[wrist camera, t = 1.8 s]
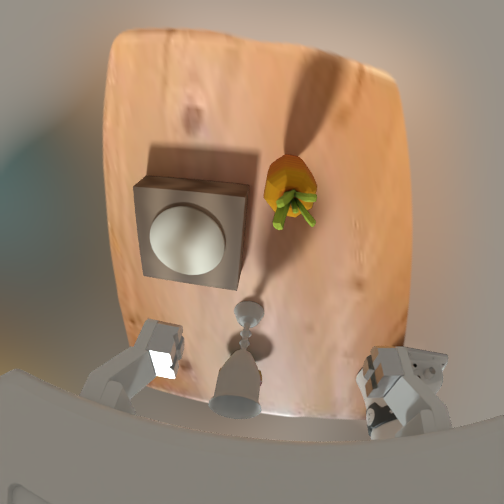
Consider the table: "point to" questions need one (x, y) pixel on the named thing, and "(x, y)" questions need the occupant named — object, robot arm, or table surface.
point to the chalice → (240, 372)
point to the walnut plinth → (191, 230)
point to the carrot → (290, 190)
